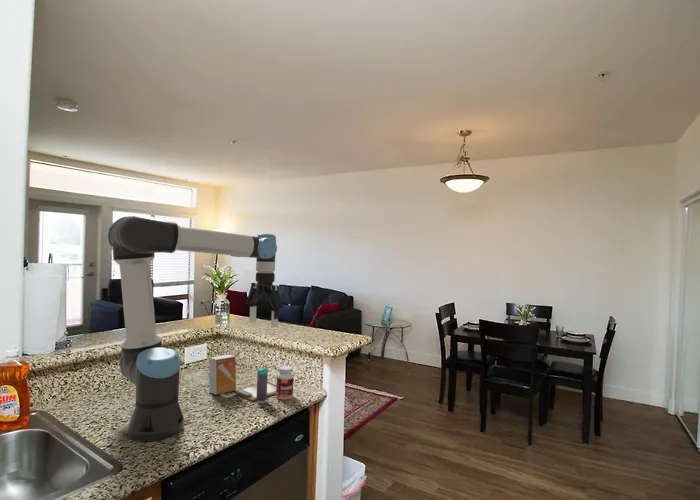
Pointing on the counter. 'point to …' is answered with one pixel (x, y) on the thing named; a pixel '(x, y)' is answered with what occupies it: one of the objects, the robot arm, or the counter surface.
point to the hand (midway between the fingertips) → (263, 324)
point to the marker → (262, 385)
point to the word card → (228, 394)
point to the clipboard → (255, 391)
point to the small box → (222, 374)
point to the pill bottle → (284, 383)
